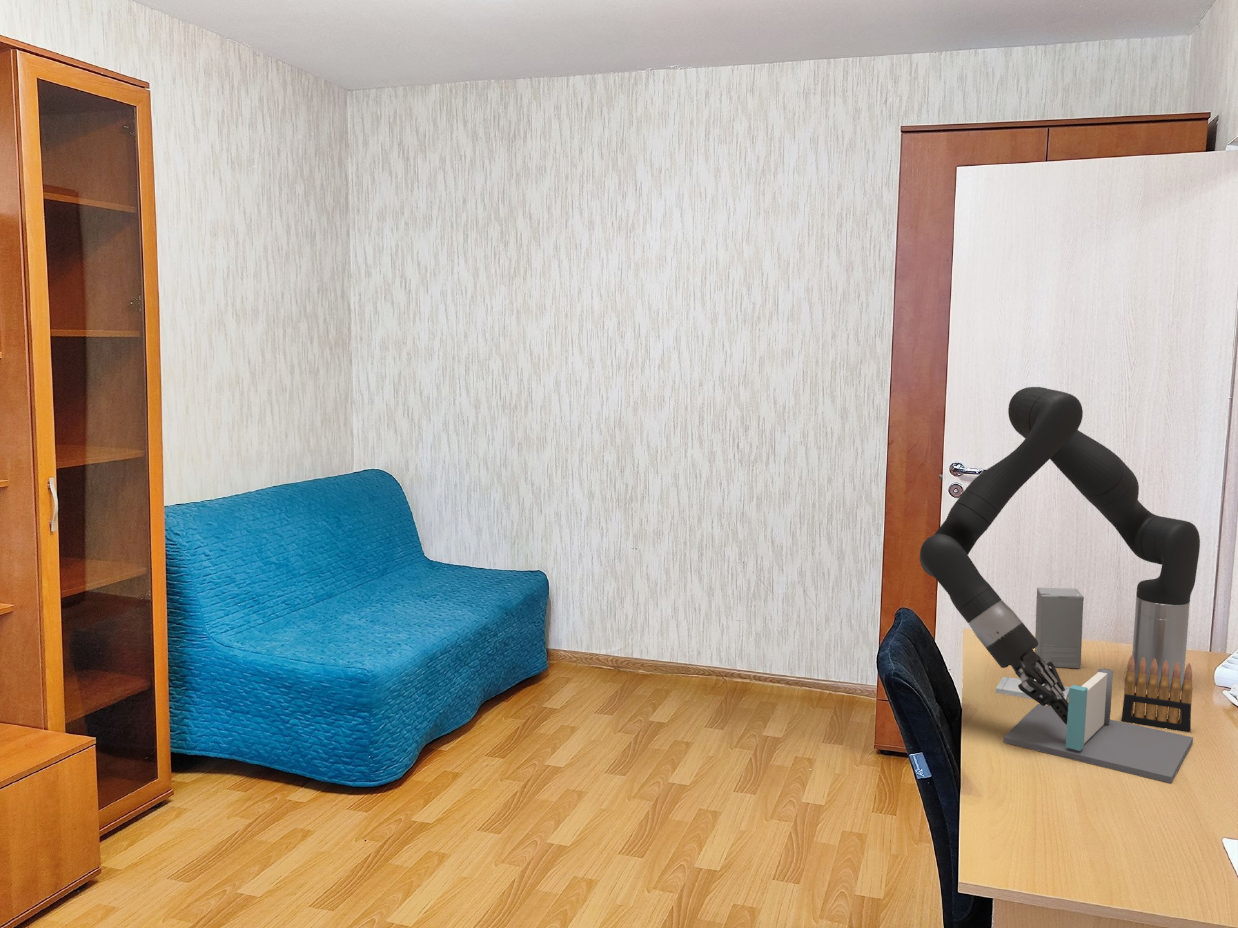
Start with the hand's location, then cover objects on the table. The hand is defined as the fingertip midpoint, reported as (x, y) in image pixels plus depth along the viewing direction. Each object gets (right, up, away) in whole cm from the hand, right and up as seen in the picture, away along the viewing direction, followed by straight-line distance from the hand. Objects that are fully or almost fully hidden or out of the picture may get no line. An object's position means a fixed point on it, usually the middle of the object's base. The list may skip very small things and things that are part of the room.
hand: (1072, 720), depth 164 cm
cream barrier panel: (+4, -3, +3) cm, 6 cm away
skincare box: (+17, 0, +45) cm, 48 cm away
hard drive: (+5, -2, +28) cm, 28 cm away
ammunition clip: (+20, -4, +11) cm, 23 cm away
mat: (+6, -4, +3) cm, 8 cm away
